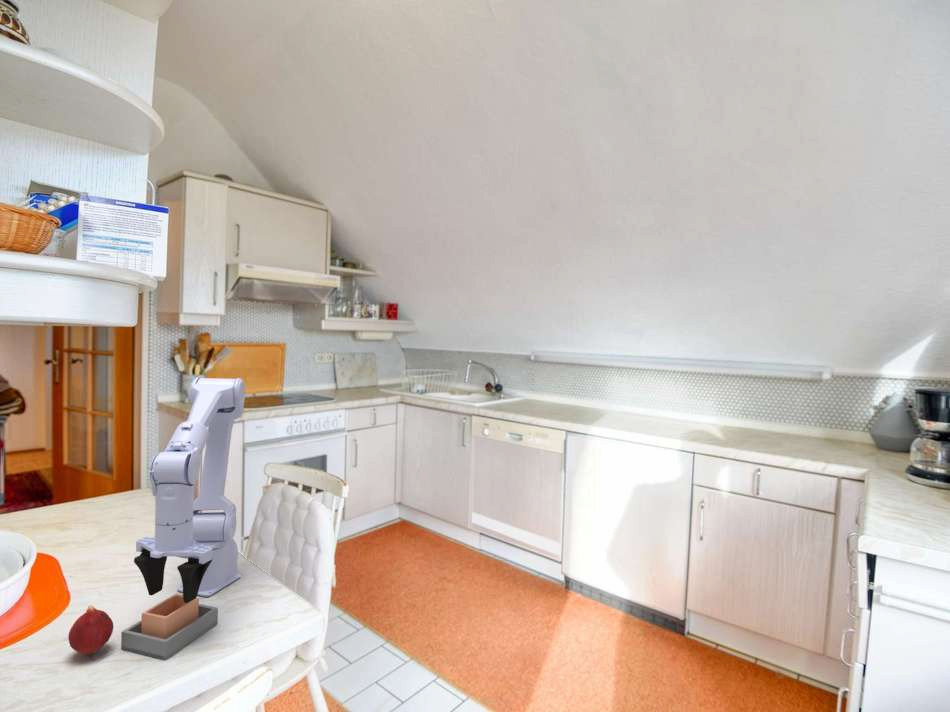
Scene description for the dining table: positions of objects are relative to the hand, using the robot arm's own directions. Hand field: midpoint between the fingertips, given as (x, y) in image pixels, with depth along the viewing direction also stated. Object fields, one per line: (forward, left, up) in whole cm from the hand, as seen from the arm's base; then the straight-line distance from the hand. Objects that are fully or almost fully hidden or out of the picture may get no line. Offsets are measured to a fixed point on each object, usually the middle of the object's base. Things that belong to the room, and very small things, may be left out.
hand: (172, 596), depth 88 cm
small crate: (0, 0, -6) cm, 6 cm away
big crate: (0, 0, -7) cm, 7 cm away
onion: (+8, -8, -7) cm, 13 cm away
